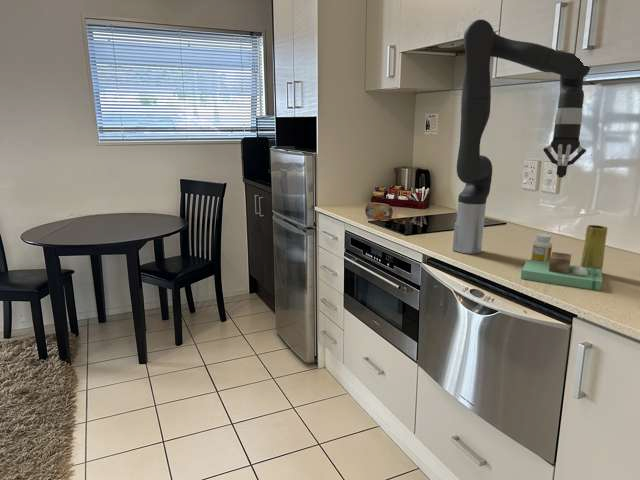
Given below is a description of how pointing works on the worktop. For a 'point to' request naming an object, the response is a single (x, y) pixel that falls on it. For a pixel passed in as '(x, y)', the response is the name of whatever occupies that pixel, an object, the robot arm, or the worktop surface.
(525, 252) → the worktop surface
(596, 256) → the vase
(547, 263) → the green
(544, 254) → the supplement bottle
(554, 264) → the block
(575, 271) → the ball
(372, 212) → the tin
